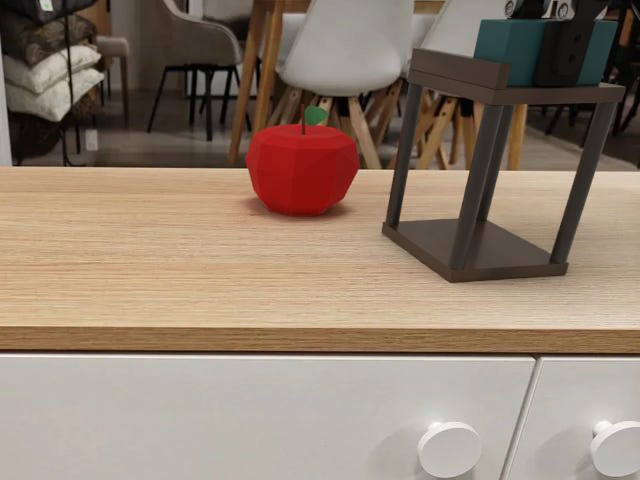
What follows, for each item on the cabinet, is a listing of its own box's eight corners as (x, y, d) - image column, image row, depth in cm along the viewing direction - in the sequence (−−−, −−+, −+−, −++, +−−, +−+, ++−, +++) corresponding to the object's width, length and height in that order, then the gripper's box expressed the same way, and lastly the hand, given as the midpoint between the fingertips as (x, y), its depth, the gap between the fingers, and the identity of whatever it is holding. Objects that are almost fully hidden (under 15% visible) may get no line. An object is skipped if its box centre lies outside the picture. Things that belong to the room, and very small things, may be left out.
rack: (479, 227, 64) (524, 46, 56) (566, 274, 54) (634, 61, 46) (380, 232, 62) (412, 47, 55) (449, 282, 52) (501, 63, 44)
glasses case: (565, 78, 51) (582, 18, 49) (599, 84, 48) (619, 21, 46) (467, 80, 49) (480, 19, 47) (496, 86, 46) (511, 22, 44)
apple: (225, 199, 71) (230, 99, 66) (306, 187, 76) (317, 93, 71) (284, 228, 63) (295, 117, 58) (371, 213, 67) (389, 108, 62)
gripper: (817, -301, 33) (673, 98, 42) (579, -217, 47) (510, 67, 56) (682, -312, 32) (565, 100, 41) (481, -222, 46) (426, 68, 55)
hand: (534, 78), depth 48 cm, fingers closed on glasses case, 3 cm apart
